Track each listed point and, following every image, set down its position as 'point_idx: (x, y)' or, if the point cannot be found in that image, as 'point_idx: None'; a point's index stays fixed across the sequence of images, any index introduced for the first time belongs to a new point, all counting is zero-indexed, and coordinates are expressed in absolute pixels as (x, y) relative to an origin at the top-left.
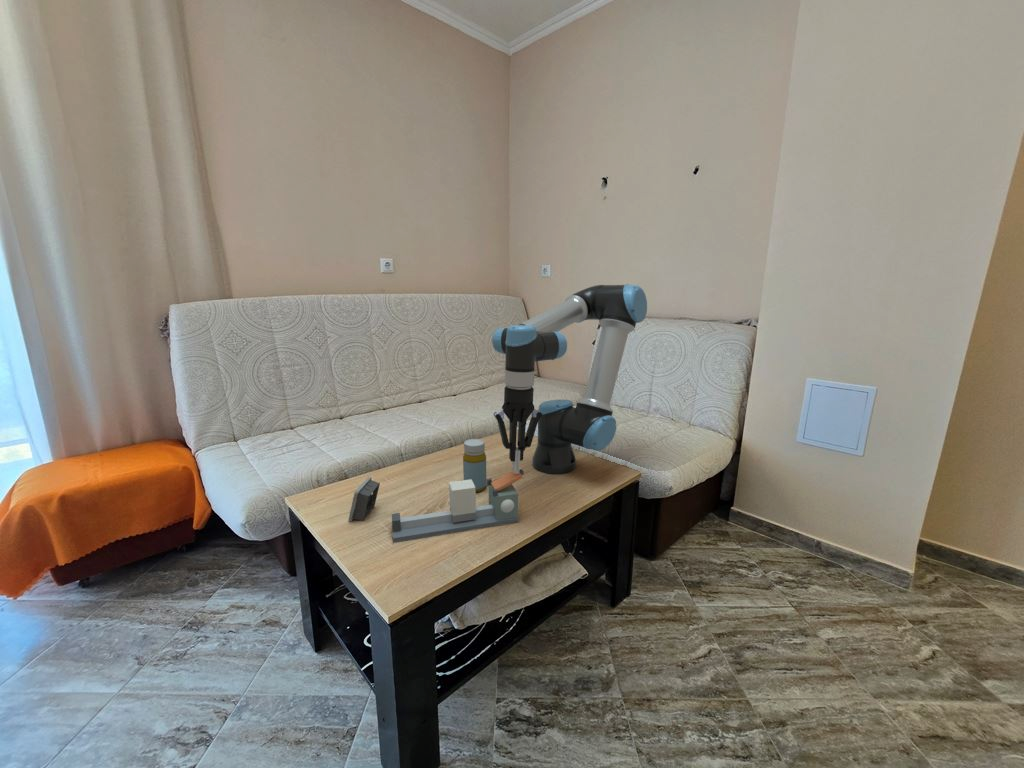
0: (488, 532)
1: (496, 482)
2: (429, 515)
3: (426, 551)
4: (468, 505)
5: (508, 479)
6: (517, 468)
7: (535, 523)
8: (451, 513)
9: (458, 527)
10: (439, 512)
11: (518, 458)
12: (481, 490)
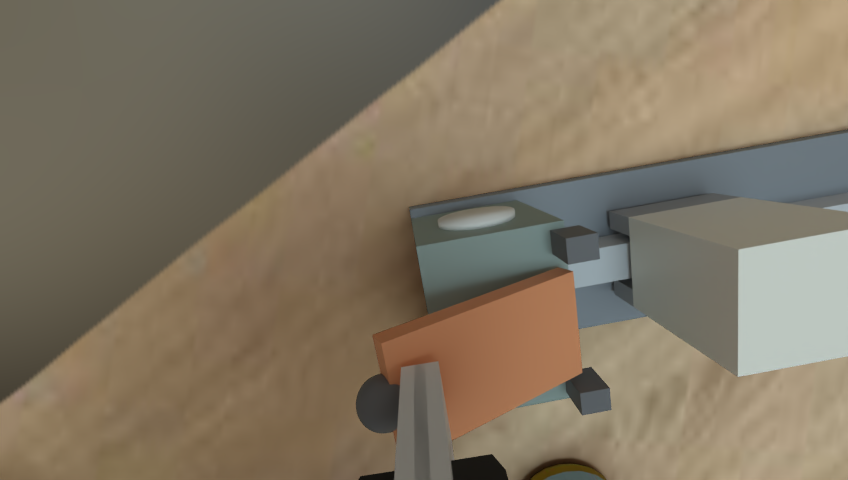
0: (551, 141)
1: (555, 355)
2: None
3: (818, 32)
4: (695, 217)
5: (483, 345)
6: (419, 394)
7: (333, 189)
8: None
9: (688, 163)
10: None
11: (413, 478)
12: (540, 472)
